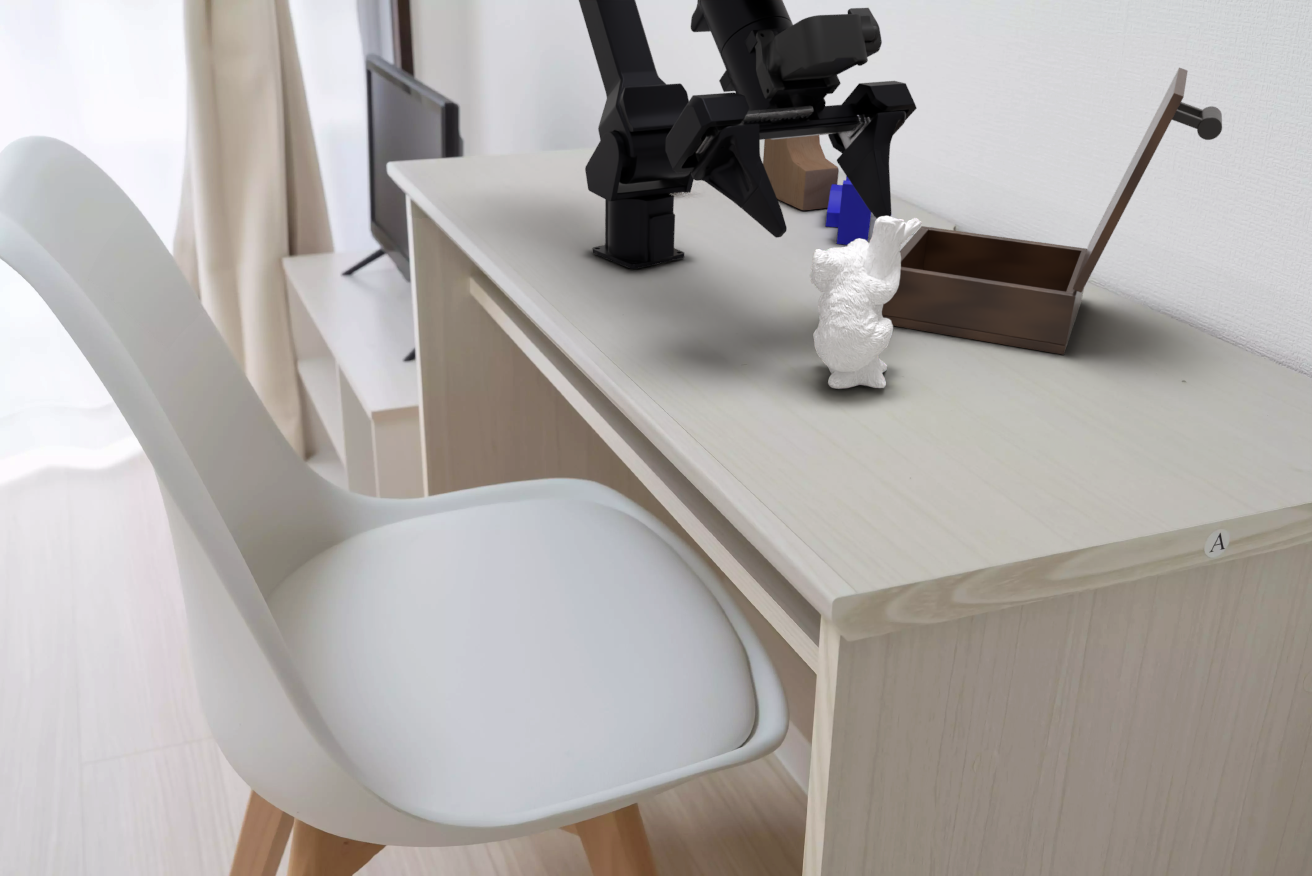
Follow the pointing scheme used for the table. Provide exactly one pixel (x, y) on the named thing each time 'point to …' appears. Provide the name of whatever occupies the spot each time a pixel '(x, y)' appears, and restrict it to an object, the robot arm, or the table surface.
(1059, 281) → the chest
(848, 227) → the cable clip
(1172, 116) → the chest lid
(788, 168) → the wooden block
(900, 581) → the table surface
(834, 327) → the white sculpted figure
